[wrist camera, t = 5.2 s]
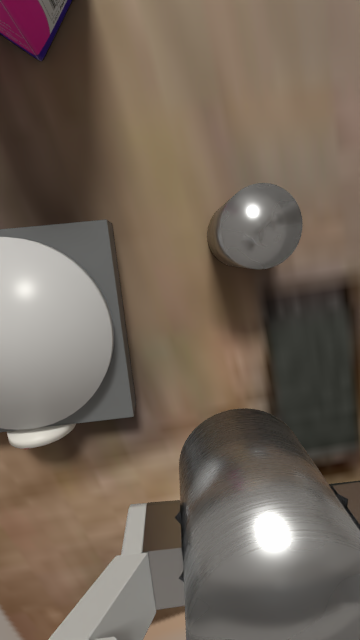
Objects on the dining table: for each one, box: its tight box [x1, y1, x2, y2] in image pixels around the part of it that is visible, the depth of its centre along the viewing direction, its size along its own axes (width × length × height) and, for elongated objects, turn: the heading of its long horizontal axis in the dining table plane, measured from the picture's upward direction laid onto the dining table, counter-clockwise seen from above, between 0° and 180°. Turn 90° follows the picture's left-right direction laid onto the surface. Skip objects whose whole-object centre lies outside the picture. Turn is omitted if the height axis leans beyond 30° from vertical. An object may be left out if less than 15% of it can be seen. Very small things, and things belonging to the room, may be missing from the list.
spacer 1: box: [207, 183, 302, 269], centre depth 19 cm, size 4×4×5 cm
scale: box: [0, 220, 136, 449], centre depth 21 cm, size 13×14×4 cm
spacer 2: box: [179, 409, 360, 640], centre depth 9 cm, size 4×4×5 cm
